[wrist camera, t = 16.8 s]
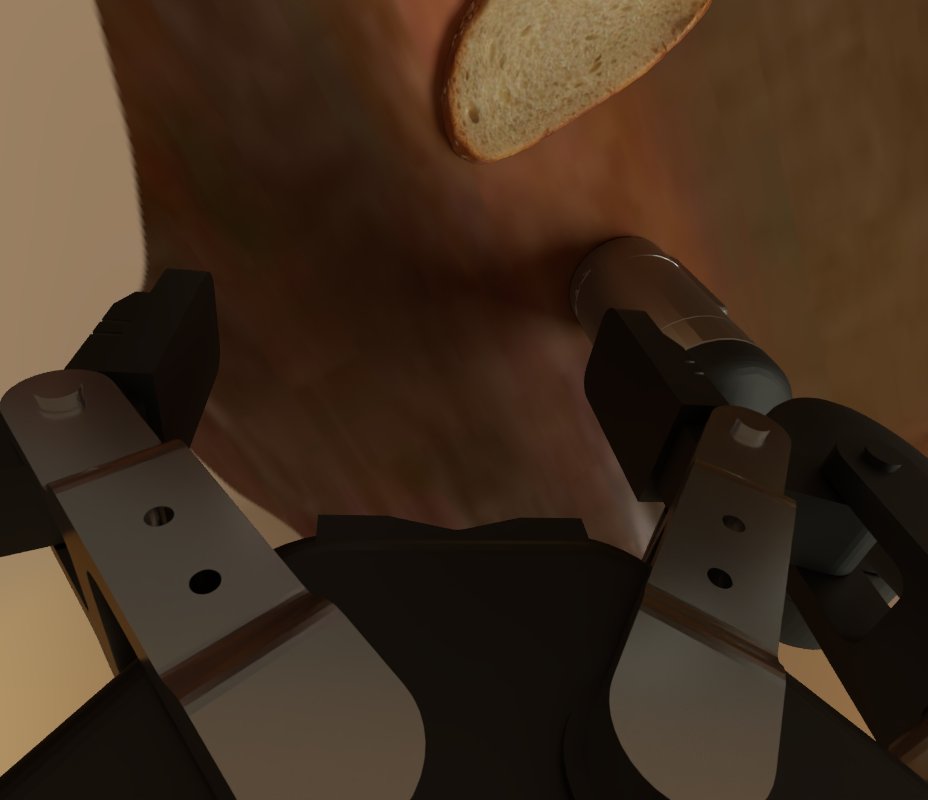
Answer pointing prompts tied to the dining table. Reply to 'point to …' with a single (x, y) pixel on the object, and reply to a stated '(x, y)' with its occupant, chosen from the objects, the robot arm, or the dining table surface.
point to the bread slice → (548, 65)
